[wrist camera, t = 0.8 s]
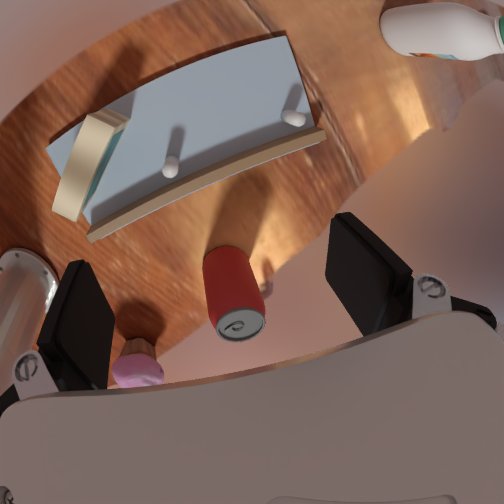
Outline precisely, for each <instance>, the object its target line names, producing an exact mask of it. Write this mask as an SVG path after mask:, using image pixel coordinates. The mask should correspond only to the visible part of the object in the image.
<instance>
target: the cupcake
mask: <svg viewBox="0 0 504 504" xmlns="http://www.w3.org/2000/svg"><path fill="white" fill-rule="evenodd" d="M112 372H113V376H114V379H115V381H116V382H117V383H118V384H119V385H120V386H121V387H122V388H131V387H142V386H151V385H160V384H162V382H163V380H164V371H163V369H162V367H161V365H160V364H159V363H158V362H157V361H156V351H155V348H154V347H153V345H151V344H150V343H148V342H147V341H145V339H143V338H135V339H133V340H128V341H126V343H125V345H124V347H123V349H122V352H121V354H120V356H119V357H118V358H117V359H116V360H115V362H114V363H113V366H112Z"/></svg>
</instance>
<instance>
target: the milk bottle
mask: <svg viewBox="0 0 504 504" xmlns="http://www.w3.org/2000/svg"><path fill="white" fill-rule="evenodd" d="M380 29H381V33H382V35H383V38H384V39H385V41H386V43H387V44H388V45H389V46H390V47H391V48H392V49H393V50H394V51H396V52H397V53H399V54H401V55H405V56H421V57H435V58H447V59H456V60H478V59H482V58H484V57H487V56H489V55H492V54H497V53H504V16H502V17H501V16H496V17H491V16H488V15H485V14H483V13H480V12H478V11H476V10H474V9H472V8H470V7H468V6H465V5H462V4H458V3H452V2H435V3H423V4H415V5H408V6H401V7H396V8H391V9H388V10H386V11H385V12H384V13H383V14H382V16H381V19H380Z"/></svg>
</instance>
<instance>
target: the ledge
mask: <svg viewBox="0 0 504 504" xmlns="http://www.w3.org/2000/svg"><path fill="white" fill-rule="evenodd" d="M108 108H109V109H111V110H113V111H115V112H117V113H119V114H121V115H123V116H125V117H127V118H129V119H131V120H130V121H129V123H128V125H127V127H126V129H125V131H124V133H123V134H122V136H121V138H120V140H119V142H118V144H117V146H116V148H115V150H114V152H113V154H112V156H111V159H110V161H109V163H108V165H107V167H106V169H105V172H104V174H103V176H102V179H101V181H100V183H99V186H98V188H97V190H96V193H95V195H94V197H93V198H92V199H91V201H90V202H89V204H88V205H87V206H86V208H85V209H84V211H83V212H82V213H83V214H84V216H85V217H86V219H87V220H88V222H89V224H90V225H91V227H90V229H89V231H88V233H87V234H86V237H87V239H88V240H89V241H90V243H93V242H95V241H97V240H98V239H102V238H104V237H105V236H107V235H109V234H111V233H113V232H114V231H116V230H118V229H120V228H122V227H124V226H126V225H128V224H130V223H131V222H133V221H135V220H137V219H139V218H141V217H143V216H145V215H147V214H149V213H151V212H153V211H155V210H157V209H159V208H161V207H163V206H165V205H167V204H169V203H172V202H174V201H176V200H178V199H180V198H182V197H184V196H186V195H189V194H191V193H193V192H195V191H197V190H200V189H202V188H204V187H206V186H209V185H211V184H213V183H216V182H218V181H220V180H223V179H225V178H227V177H230V176H232V175H234V174H237V173H239V172H242V171H244V170H247V169H249V168H252V167H254V166H257V165H259V164H262V163H264V162H267V161H270V160H272V159H275V158H278V157H280V156H283V155H286V154H288V153H291V152H294V151H297V150H299V149H302V148H305V147H308V146H311V145H314V144H317V143H319V142H320V141H323V140H326V139H327V138H326V134H325V130H324V129H321V128H318V127H316V126H315V124H314V121H313V117H312V114H311V110H310V107H309V103H308V100H307V97H306V93H305V90H304V87H303V84H302V81H301V78H300V74H299V71H298V68H297V66H296V63H295V60H294V57H293V54H292V51H291V48H290V46H289V43H288V40H287V38H286V36H281V37H276V38H272V39H268V40H264V41H260V42H256V43H252V44H248V45H245V46H241V47H238V48H235V49H231V50H228V51H225V52H222V53H219V54H216V55H213V56H210V57H208V58H205V59H202V60H199V61H197V62H194V63H192V64H189V65H187V66H184V67H182V68H179V69H177V70H175V71H173V72H170V73H168V74H166V75H164V76H161V77H159V78H157V79H155V80H153V81H151V82H149V83H147V84H145V85H143V86H141V87H139V88H137V89H135V90H133V91H131V92H130V93H128V94H126V95H124V96H122V97H121V98H119V99H117V100H115V101H114V102H112V103H110V104H108V105H107V106H105V107H104V108H102V109H100V110H99V111H101V110H104V109H108ZM83 123H84V120H83V121H82V122H80V123H79V124H77V125H76V126H75V127H73V128H72V129H70V130H69V131H68V132H66V133H65V134H64V135H62V136H61V137H60V138H58V139H57V140H56V141H54V142H53V143H52V144H50V145H49V146H48V147H47V148H46V150H47V152H48V154H49V156H50V158H51V160H52V162H53V164H54V165H55V167H56V169H57V171H58V173H59V174H60V176H61V178H62V175H63V172H64V169H65V166H66V163H67V161H68V158H69V156H70V153H71V150H72V148H73V145H74V143H75V141H76V138H77V136H78V134H79V131H80V129H81V127H82V125H83Z"/></svg>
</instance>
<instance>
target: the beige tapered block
mask: <svg viewBox="0 0 504 504" xmlns="http://www.w3.org/2000/svg"><path fill="white" fill-rule="evenodd" d="M130 120H131V119H129V118H127V117H125V116H123V115H121V114H119V113H117V112H115V111H113V110H111V109H109V108H108V109H104V110H101V111H97V112H94V113H91V114H87V116H86V118H85V120H84V123H83V125H82V127H81V129H80V131H79V134H78V136H77V138H76V141H75V143H74V145H73V148H72V150H71V153H70V156H69V158H68V161H67V163H66V166H65V169H64V172H63V175H62V178H61V181H60V184H59V187H58V190H57V193H56V196H55V200H54V203H53V207H52V211H54V212H56V213H58V214H60V215H62V216H64V217H66V218H68V219H70V220H72V221H74V222H76V221H77V220H78V218H79V217H80V215H81V214H82V212H83V211H84V209H85V208H86V206H87V205H88V204H89V202H90V201H91V199H92V198H93V197H94V195H95V193H96V190H97V188H98V186H99V183H100V181H101V179H102V176H103V174H104V172H105V169H106V167H107V165H108V163H109V161H110V159H111V156H112V154H113V152H114V150H115V148H116V146H117V144H118V142H119V140H120V138H121V136H122V134H123V133H124V131H125V129H126V127H127V125H128V123H129V121H130Z"/></svg>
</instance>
